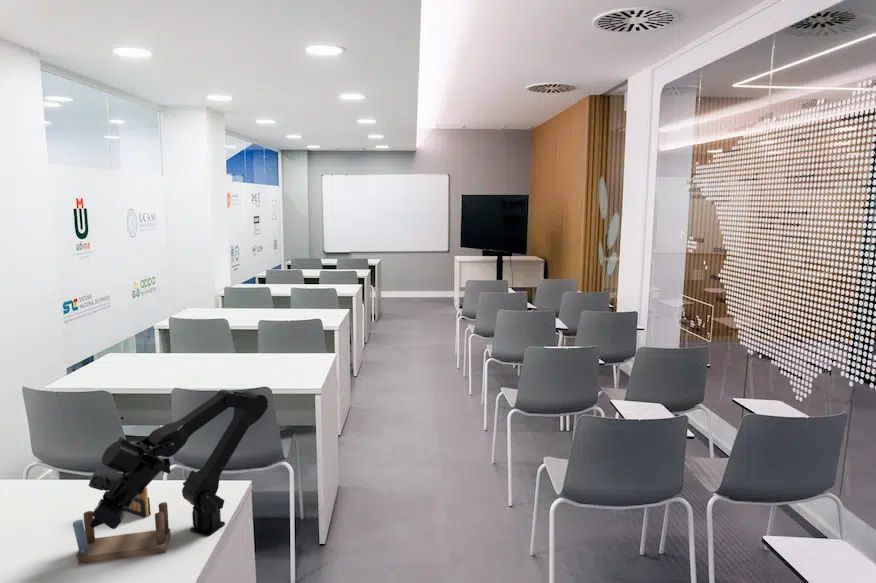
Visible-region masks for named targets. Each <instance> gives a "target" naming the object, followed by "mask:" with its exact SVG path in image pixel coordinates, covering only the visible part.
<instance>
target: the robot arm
mask: <svg viewBox="0 0 876 583" xmlns="http://www.w3.org/2000/svg"><path fill="white" fill-rule="evenodd" d="M268 407H269V400H268V398H267V397H266V396H265V395H263V394H260V393H258V392H257V391H256V392H255V391H253V390H245V391H243V392H239V391H235V390H227V389H221V390H219V391H217V393H215V395H213V396H212V397H211V398H209V399H208V400H206V401H205V402H203V403H202V404H201V405H199V406H198V407H196V408H194V409H193V410H192V411H191V412H189V413H188V414H186V415H185V416H183V417H182V418H180V419H178V420H177V421H174V422H170V423H166V424H164V425H162V426H160V427H159V428H157V429H154V430H152V432H150V434H149V435H148V436H145V437H144V438H142V439H140V440H138V441H135V442H134V443H133V442H130V441H129V440H127V439H126V438H123V437H119V438H118V440H117V441H114V442H113V443H112V444H111V445H109V446H108V447H106V449H105V451H104V452H103V455H102V457H101V463H102V465H104V466H105V467H103V466H98V467H97V468H96V469H95V471H93V474H92V475H91V479H90V480H89V483H88V487H90V488H92V489H95V490H97V491H98V490H99V491H105V492H104V493H103V495H102V498H100V500H99V502H98V503H97V506H96V507H95V508H94V510H92V511H93V513H92V514H93V521H92V522H91V524H90V526H91V527H92V528H94V529H95V528H96V527H98V526H101V525H103V524H104V525H105V526H108V528H110V529H112V530H115V529H116V528H118V527H119V525H120V524H121V523H122V521H123V520H124V518H125V511H124V508H125V506H126V507H127V508H128V507H129V506H130V505H131V503H132V501H133V500H134V499H135V498H136V497H137V496H138V495H141V494H142V492H143V491H144V489H145V487H148V485H149V484H150V483H151V482H152V481H153V480H154V479H155V478H156V477H157V476H158V475H159V474H160V473H161V472H163V473H165V474H169V475H170V473H171V461H170V458H171V457H172V456H174V455H176V454H177V453H178V451H180V450H181V449H182V448H183V447H185V445H186V444H187V442H188V440H189V438H190V437H191V436H192V435H193V434H194V433H195V432H197V431H198V430H200V429H202V428H203V427H204V426H206V424H209V422H211V421H213V420H214V419H215V418H216V417H218V416H219V415H221V414H222V413H223V412H225V411H227V410H228V409H229V408H233V417H232V420H230V423H229V425H228V426H227V427H226V430H225V431H224V433H223V434H222V436H221V438H220V439H219V441H218V442H217V444H216V446H215V448H214V449H213V451H212V452H211V454H210V456H209V457H208V459H207V461H206V463H205V464H204V465H203V466H202V468H200V469H199V470H198V471H195V470H191V471H190V472H189V474H188V476H187V479H186V480H185V481H183V483H182V485H183V487H182V490H181V493H182V497H183V499H184V500H186V501H187V502H188V503H189V504H190V505H192V511H191V514H192V516H191V517H192V526H193V527H191V528H190V529H189V532H190V533H193V534H199V535H203V536H207V537H209V536H211V535H213V534H214V533H215V532H217V531H218V530H220V529H221V528H222V527H223V526H225V525H226V521H222V518H221V509H223V507H224V505H225V504H224V503H225V499H223V498H222V497H221V496H218V495H217V492H218V491H219V484H220V477H221V475H222V473H223V472H224V469H225V468H226V466H227V465H228V462H230V460H231V458H232V456H233V454H234V453H235V451H236V450H237V448H238V446H239V445H240V443H241V442H242V439H243V438H244V437H245V435H246V433H247V431H248V429H249V428H250V427H251V426H252V425H254V424H255V423H257V422H258V421H259V420H260V419H261V418H262V416H264V414H265V413H266V411H268ZM160 456H161V457H162V458H161V457H160ZM108 467H109V468H111V469H109V468H108ZM113 469H114V470H113ZM120 472H123V473H122V474H121V473H120Z"/></svg>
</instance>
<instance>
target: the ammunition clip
mask: <svg viewBox="0 0 876 583" xmlns="http://www.w3.org/2000/svg"><path fill="white" fill-rule="evenodd" d="M119 473H121V474H122V473H123V472H120V471H119ZM148 495H149V493H148V486H146V487H145V489H144V491H143V492H142V494H141V495H138V496H137V497H136V498H135V499H134V500H133V501H132V503H131V505H130V506H129V507H128V508H127V507H126V506H125V508H124V512H126V513H130V514H133V515H136V516H138V517H141V518H144V519H145V518H147V517H149V516H151V514H152V513H151V504H150V503H151V502H150V497H149V496H148Z"/></svg>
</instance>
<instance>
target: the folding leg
mask: <svg viewBox="0 0 876 583" xmlns="http://www.w3.org/2000/svg"><path fill="white" fill-rule="evenodd" d="M72 527H73V531H74V535H75V536H74V537H75V539H76V544H77V548H78V551H80V553H82V554H83V553H84V552H85V550H86V549H88V543H87V538H86V534H85V526H84V521H83V519H78V520H75V521H74V522H72Z"/></svg>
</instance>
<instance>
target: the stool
mask: <svg viewBox="0 0 876 583" xmlns="http://www.w3.org/2000/svg"><path fill="white" fill-rule="evenodd" d="M168 510H169V509H168V502H166V501H165V502H164V501H163V502H160V503H158V512H156V513H154V522H155V530H150V531H140V532H139V531H138V532H133V533H126V534H118V535H117V534H116V535H110V536H102V537H96V536H95V534H96V533H95V527H94V528H92V527H91V526H90V524H91V522H92V521H93V519H94V516H93V514H92V513H93V511H94V510H89V511H85V512H84V513H83V526H84V530H85V534H86V538H87V543H88V549H86V550H85V552H84V553H83V554H82V553H80V551H79V550H77V553H76V554H75V557H76V559H77V565H78V566H80V565H87V564H93V563H94V564H95V563H102V562H106V561H107V562H108V561H115V560H116V561H117V560H124V559H129V558H130V559H131V558H138V557H144V556H145V557H146V556H151V555H159V554H165V553H166V552H167V549H168V546H169V543H170V540H171V535H172V533H171V528H170V525H169V513H168V512H169V511H168Z"/></svg>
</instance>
